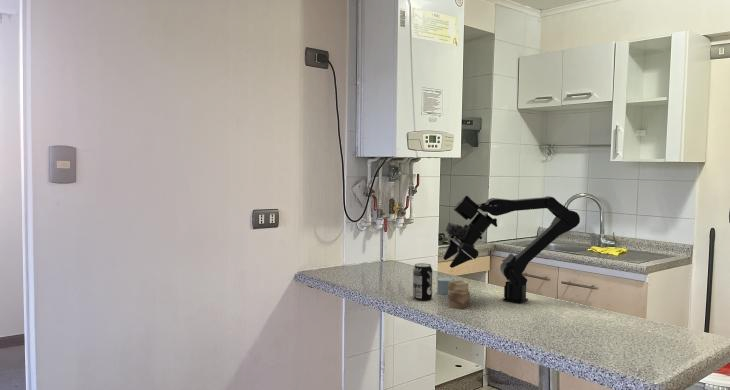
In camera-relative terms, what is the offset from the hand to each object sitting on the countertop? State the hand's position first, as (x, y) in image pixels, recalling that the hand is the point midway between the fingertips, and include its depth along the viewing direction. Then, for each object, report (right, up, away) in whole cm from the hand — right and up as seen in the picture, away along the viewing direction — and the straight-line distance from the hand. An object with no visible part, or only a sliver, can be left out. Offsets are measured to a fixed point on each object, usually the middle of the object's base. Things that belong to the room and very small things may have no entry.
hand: (447, 263), depth 182 cm
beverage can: (-9, -13, +1) cm, 15 cm away
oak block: (+5, -13, +5) cm, 14 cm away
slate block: (+1, -12, +10) cm, 16 cm away
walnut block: (+3, -13, -9) cm, 16 cm away
